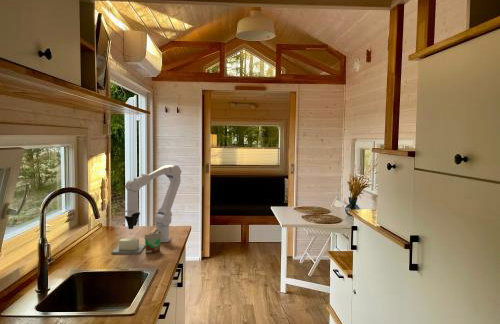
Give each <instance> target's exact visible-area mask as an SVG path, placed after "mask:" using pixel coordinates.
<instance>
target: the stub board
mask: <svg viewBox="0 0 500 324" xmlns="http://www.w3.org/2000/svg"><path fill="white" fill-rule="evenodd" d="M144 249H146V248H145V244H139V247H138V249H137V250H119V244H118V245H117V246H116V247H115V248H114V249H113V250H112V251H111V255H141V253H142V252H143V251H144Z"/></svg>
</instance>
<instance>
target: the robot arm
mask: <svg viewBox="0 0 500 324" xmlns="http://www.w3.org/2000/svg"><path fill="white" fill-rule="evenodd" d="M181 174H182V170H181V168H180V166H179V165H176V164H175V165H174V164H173V165H172V164H165V165H162V166H161V167H159V168H158V169H156V170H154V171H152V172H150V173H141V174H140V176H138V177H134V178H133V179H129V180H127V182H126V183H125V185H124V188H125V190H126V193H127V194H126V208H127V209H125V210H124V212H125V213H127V215H125V216H124V219H125V220H126V223H127V227H128V230H134V228H135V227H137V225H138V221H139V220H138V219H139V217H140V215H141V212H140V210H139V191H140V189H141V188H143V187H145V186H146V185H147V186H148V184H151V181H152V180H154V179H156V178H158V177H161V176H163V175H164V176H166V177H167V178H168V180H169V186H168V188H167V190H166V193H165V197H164V199H163V202H162V205H161V207H160V208H159V209H157V212H156V214H155V215H154V216H153V221H154V222H155V230H160V231H161V232H162V237H161V242H160V243H169V242H170V240H171V238H172V237H170V224H171V223H172V216H173V213H172V207H173V204H174V201H175V198H176V197H177V193H178V191H179V190H178V189H179V187H180V184H181Z"/></svg>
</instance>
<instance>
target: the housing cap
mask: <svg viewBox="0 0 500 324" xmlns="http://www.w3.org/2000/svg"><path fill="white" fill-rule="evenodd" d="M118 245H119V250H137V249H138V247H139V245H140V239H139V238H120V239H119V241H118Z"/></svg>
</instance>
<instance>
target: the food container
mask: <svg viewBox="0 0 500 324" xmlns="http://www.w3.org/2000/svg"><path fill="white" fill-rule="evenodd" d="M161 237H162V232H161V231H160V230H156V229H155V230H154V231H153V232H150V233H148V234H145V235H144V242H145V243H144V245H145V248H144V249H145V254H146V255H151V254H154V255H155V254H157V253H160V251H161V243H162V242H161Z"/></svg>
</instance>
